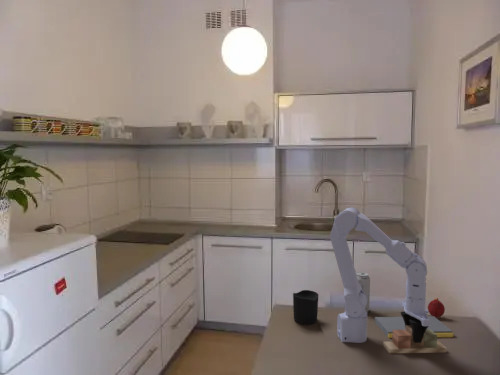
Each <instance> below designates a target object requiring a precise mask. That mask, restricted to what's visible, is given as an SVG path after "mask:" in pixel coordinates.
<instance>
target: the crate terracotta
mask: <svg viewBox="0 0 500 375" xmlns="http://www.w3.org/2000/svg"><path fill="white" fill-rule="evenodd" d="M391 339H392V340H391V341H392V342H393V343H394V344H395V346H396V347H397V348H411V335H410V334H409V333H408V332H407V331H406V330H393V336H392V338H391Z"/></svg>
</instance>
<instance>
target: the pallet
mask: <svg viewBox="0 0 500 375" xmlns="http://www.w3.org/2000/svg"><path fill="white" fill-rule="evenodd" d="M406 331H407V332H408V333H409V334H410V335H411V348H397V347H396V346H395V344H394V343H393V342H392V340H391V341H389V340H388V341H382V346H383V347H384V349H385V350H386V351H387V352H388V354H423V353H424V354H425V353H426V354H427V353H431V354H432V353H447V352H448V348H447V347H446V346H445V345H444V344H442V342H440V341H439V340H437V348H424V336H423V339H422V342H421V343H415V342H414V340H413V332H412V327H411V325H406Z"/></svg>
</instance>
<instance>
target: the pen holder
mask: <svg viewBox="0 0 500 375" xmlns="http://www.w3.org/2000/svg"><path fill="white" fill-rule="evenodd" d="M292 300H293V301H292V303H293V305H292V306H293V307H292V308H293V309H292V310H293V320H294V321H295V322H296V323H297V324H299V323H300V324H299V325H304V324H306V325H307V324H310V325H314V324H316V323H317V321H318V312H319V310H318V309H319V308H318V307H319V293H318V292H316V291H313V290H311V289H310V290H309V289H303V290H300V291H298V292H293V293H292ZM313 323H314V324H313Z"/></svg>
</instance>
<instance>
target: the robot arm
mask: <svg viewBox="0 0 500 375" xmlns="http://www.w3.org/2000/svg"><path fill="white" fill-rule="evenodd" d="M354 228H355V230H354V231H357V232H364V233H367V234H368V235H369V236H370V237H372V239H374V240H375V241H376V242H377V243H379V244H380V245H381V246H383V247H384V248H385V253H386V255H387V256H388V257H389V258H391V259H392V261H394V262H395V263H397V265H398V266H400V267H401V268H403V269H405V273H406V280H405V301H401V308H402V309H403V311H401V312H400V315H401V317H403V320H404V323H405V327H406V325H411V327H412V332H413V340H414V342H415V343H421V342H422V339H423V336H424V333H425V331H426V329H427V328H428V327H429V326H430V320H429V319H428V317H427V316H428V314H430V313H429V311H428V308H426V300H427V299H426V297H427V294H426V293H427V283H426V280H427V277H426V276H427V275H428V271H427V270H428V266H427V262H426V261H425V260H424V258H423V257H421V256H419V254H418V253H415V252H413V251H412V250H411V249H409V248H408V247H407V246H406V245H407V243H405V242H404V241H402V242H401V241H400V240H397V239H391V238H390V237H389V236H388V235H387V234H386V233H385V232H384V231H383V230H382V229H380V228H379V227H378V225H377V224H375V222H373V221H372V219H370V218H369V217H367V216H366V215H365V214H364V213H362V212H360V211H359V210H358V209H357V208H355V207H352V206H351V207H347V208H344V210H341V211H340V212H339V213H338V214H337V216H336V217H335V218H334V219H333V224H332V228H331V230H330V234H329V239H330V241H331V246H332V249H333V253H334V256H335V260H336V264H337V267H338V271H339V273H340V275H339V276H340V278H341V281H342V284H343V298H344V304H343V305H344V308H343V309H344V312H342V313H338V314H337V318H336V335H337V336H338V338H339V340H340V342H341V343H354V344H355V343H357V344H362V343H365V342H367V338H368V312H366V310H365V306H366V305H367V303H368V298H367V296H366V294H365V293H364V292H363V290H362V287H361V285H360V284H359V282H358V279H357V275H356V273H357V272H356V269H355V265H354V262H353V258H352V255H351V251H350V246H349V244H348V240H347V237H348V235H349V234H350V232H351V230H353V229H354Z"/></svg>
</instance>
